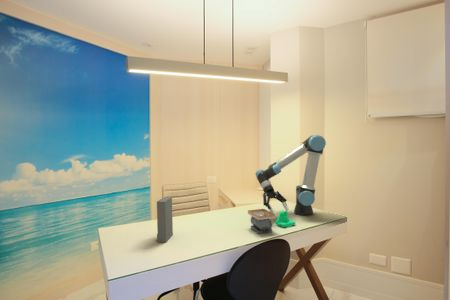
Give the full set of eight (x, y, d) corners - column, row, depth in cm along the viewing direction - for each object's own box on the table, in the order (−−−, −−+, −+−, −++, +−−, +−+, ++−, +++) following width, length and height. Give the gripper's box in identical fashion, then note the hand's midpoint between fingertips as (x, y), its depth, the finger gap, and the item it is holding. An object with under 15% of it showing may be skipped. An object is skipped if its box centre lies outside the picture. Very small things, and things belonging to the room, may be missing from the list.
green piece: (282, 228, 189) (282, 213, 188) (275, 225, 195) (275, 211, 195) (295, 225, 194) (295, 211, 194) (288, 222, 201) (288, 209, 201)
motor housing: (263, 225, 195) (263, 208, 194) (275, 232, 180) (275, 214, 179) (248, 227, 191) (247, 210, 190) (258, 235, 176) (258, 216, 175)
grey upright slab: (163, 234, 180) (163, 196, 179) (173, 234, 179) (172, 196, 178) (156, 242, 166) (155, 201, 165) (166, 242, 165) (165, 201, 164)
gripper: (277, 188, 218) (290, 211, 206) (252, 192, 206) (264, 216, 194) (282, 183, 213) (295, 206, 201) (256, 186, 201) (268, 211, 189)
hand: (280, 211), depth 198 cm, fingers open, 13 cm apart
